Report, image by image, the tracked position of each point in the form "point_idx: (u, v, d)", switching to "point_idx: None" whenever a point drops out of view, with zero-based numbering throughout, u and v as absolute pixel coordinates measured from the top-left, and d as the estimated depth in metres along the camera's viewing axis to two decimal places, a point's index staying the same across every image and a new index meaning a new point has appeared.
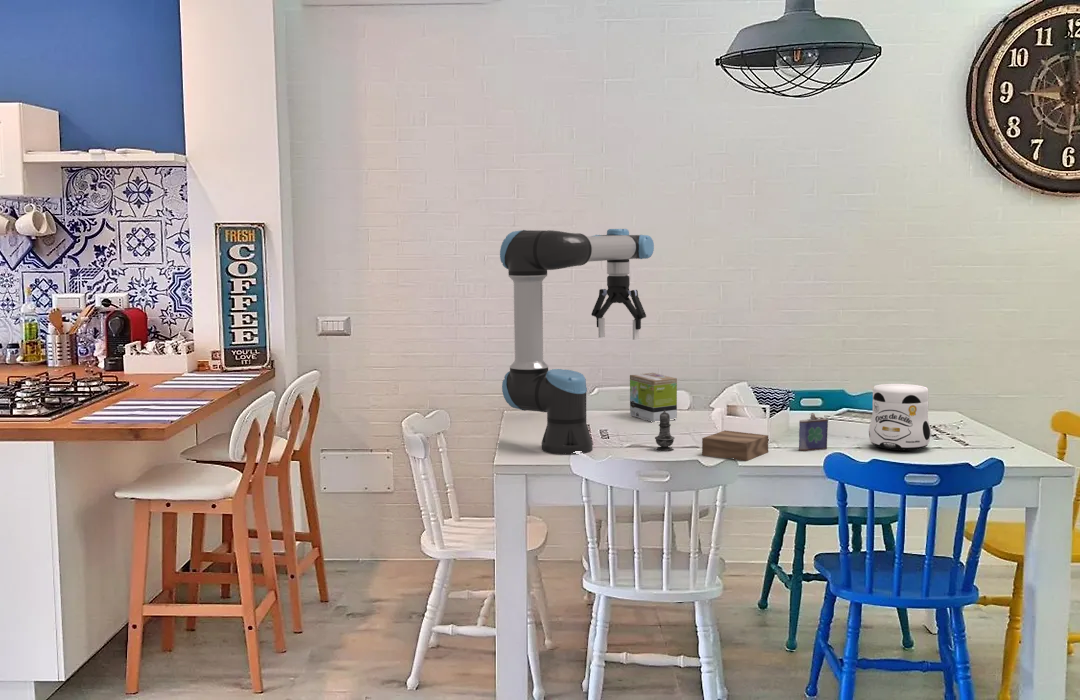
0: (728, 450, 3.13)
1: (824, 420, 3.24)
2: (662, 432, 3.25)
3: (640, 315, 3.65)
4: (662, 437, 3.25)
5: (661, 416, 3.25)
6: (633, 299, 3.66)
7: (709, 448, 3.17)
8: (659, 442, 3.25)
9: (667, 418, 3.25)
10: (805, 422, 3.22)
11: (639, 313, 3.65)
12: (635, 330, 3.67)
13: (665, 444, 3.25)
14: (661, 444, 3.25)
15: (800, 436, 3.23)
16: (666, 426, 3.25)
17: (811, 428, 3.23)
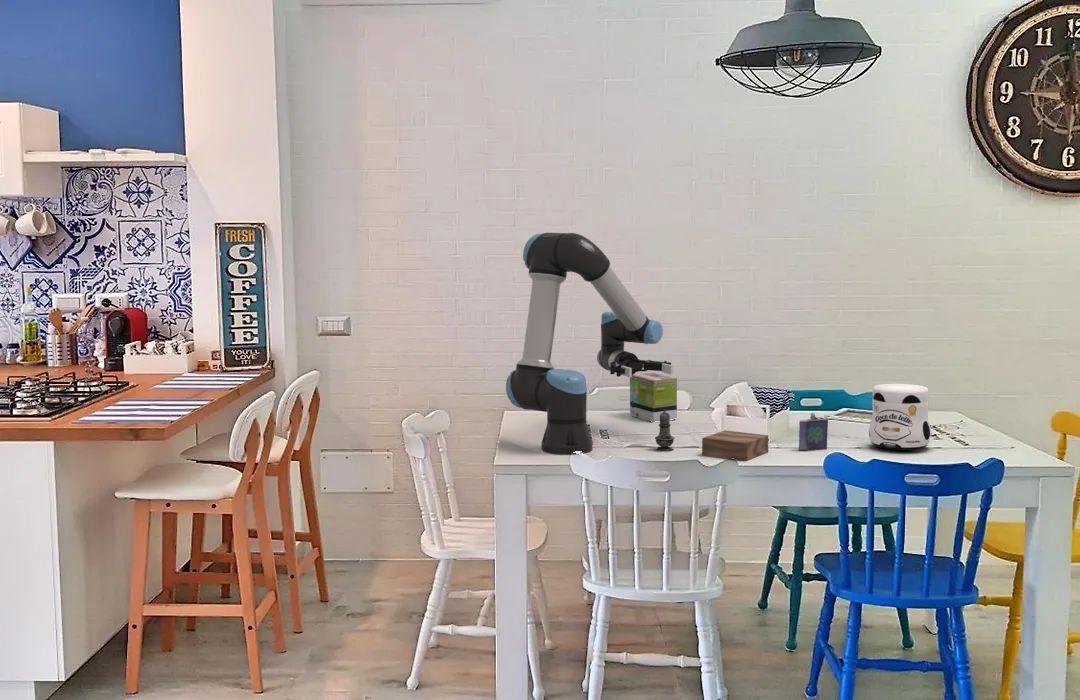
0: (728, 450, 3.13)
1: (824, 420, 3.24)
2: (662, 432, 3.25)
3: (668, 362, 3.44)
4: (662, 437, 3.25)
5: (661, 416, 3.25)
6: (653, 361, 3.48)
7: (709, 448, 3.17)
8: (659, 442, 3.25)
9: (667, 418, 3.25)
10: (805, 422, 3.22)
11: (666, 362, 3.45)
12: None
13: (665, 444, 3.25)
14: (661, 444, 3.25)
15: (800, 436, 3.23)
16: (666, 426, 3.25)
17: (811, 428, 3.23)
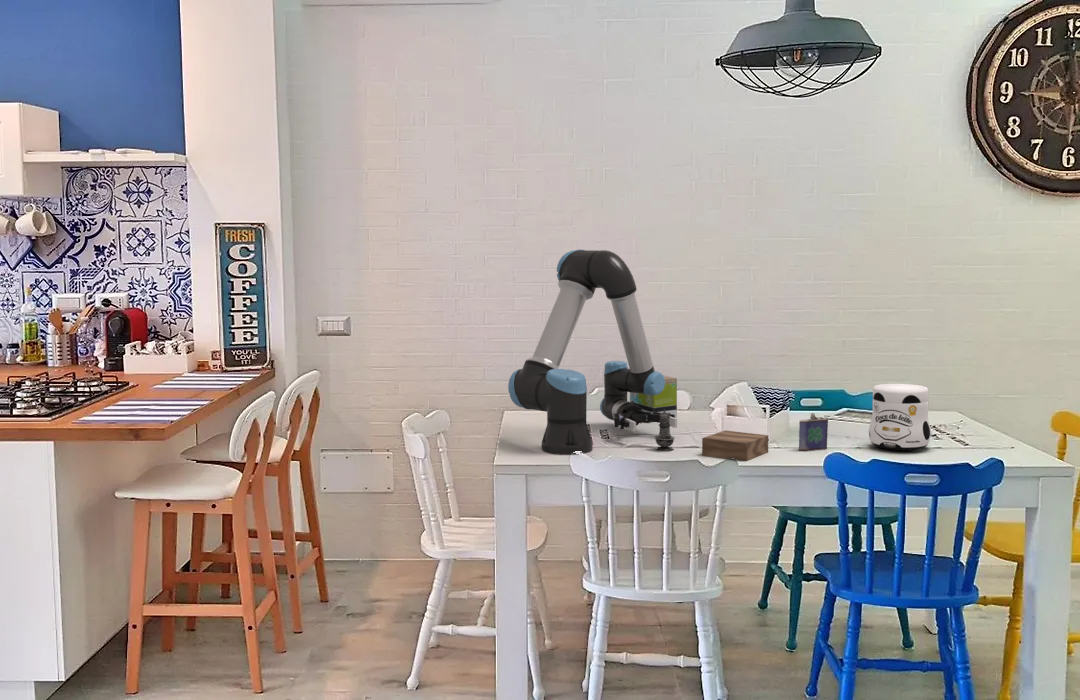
0: (728, 450, 3.13)
1: (824, 420, 3.24)
2: (662, 432, 3.25)
3: (672, 414, 3.45)
4: (662, 437, 3.25)
5: (661, 416, 3.25)
6: (657, 412, 3.49)
7: (709, 448, 3.17)
8: (659, 442, 3.25)
9: (667, 418, 3.25)
10: (805, 422, 3.22)
11: None
12: None
13: (665, 444, 3.25)
14: (661, 444, 3.25)
15: (800, 436, 3.23)
16: (666, 426, 3.25)
17: (811, 428, 3.23)
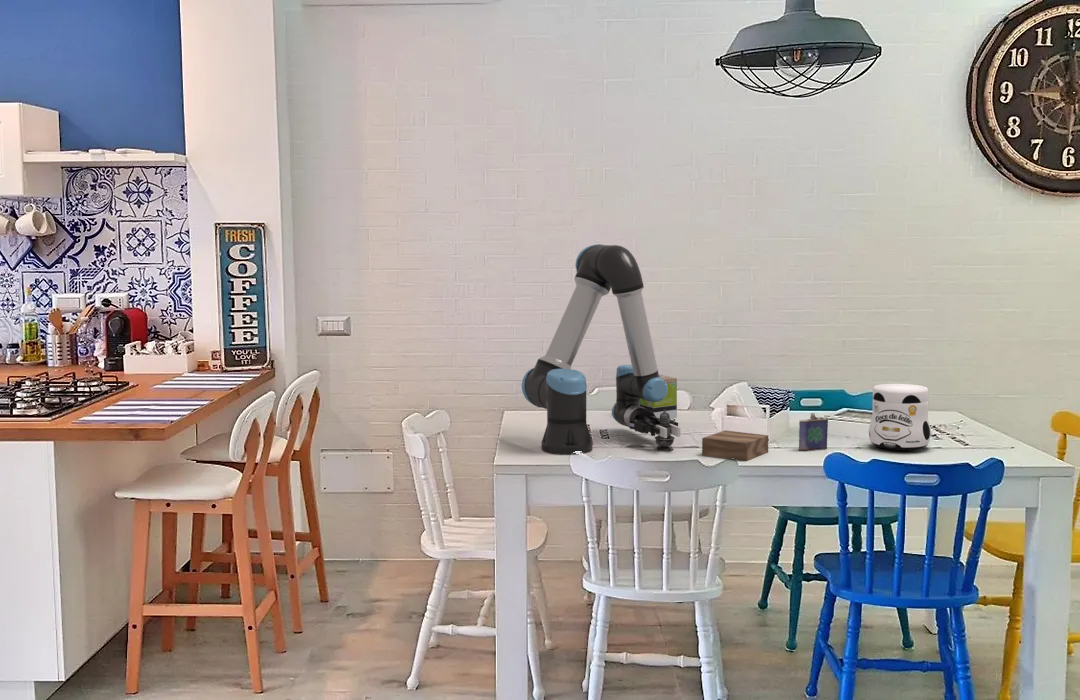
0: (728, 450, 3.13)
1: (824, 420, 3.24)
2: None
3: (675, 422, 3.30)
4: (662, 437, 3.25)
5: (661, 416, 3.25)
6: None
7: (709, 448, 3.17)
8: (659, 442, 3.25)
9: (667, 418, 3.25)
10: (805, 422, 3.22)
11: (674, 422, 3.31)
12: None
13: (665, 444, 3.25)
14: (661, 444, 3.25)
15: (800, 436, 3.23)
16: (666, 426, 3.25)
17: (811, 428, 3.23)
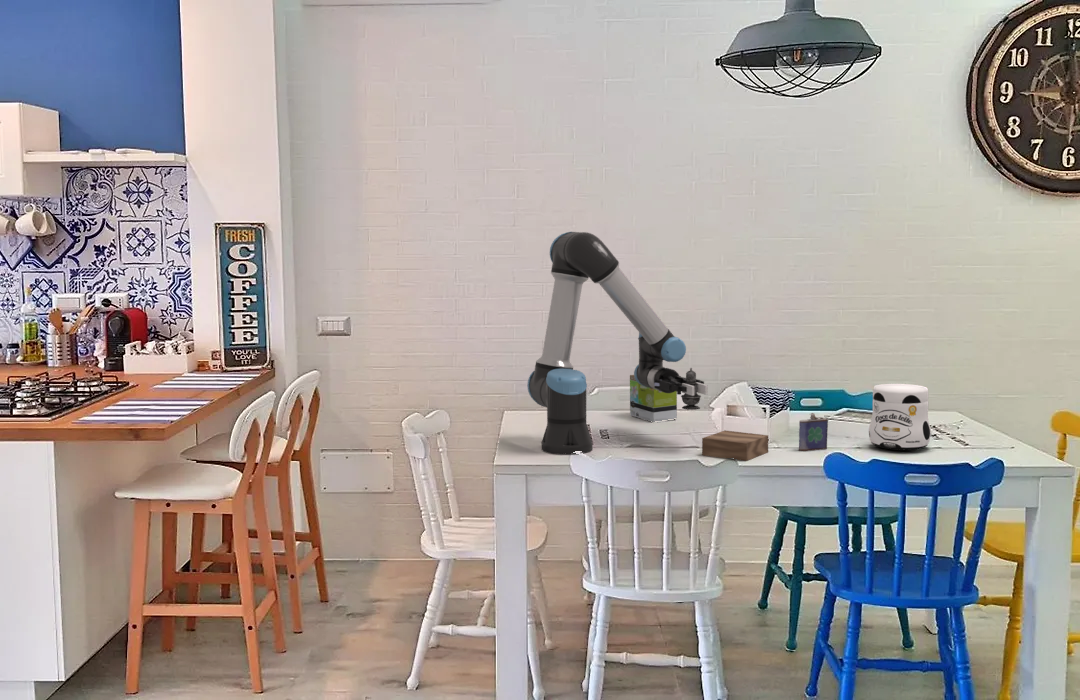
0: (728, 450, 3.13)
1: (824, 420, 3.24)
2: None
3: (701, 381, 3.28)
4: (689, 395, 3.23)
5: (687, 374, 3.23)
6: None
7: (709, 448, 3.17)
8: (686, 400, 3.23)
9: (694, 376, 3.23)
10: (805, 422, 3.22)
11: (700, 381, 3.29)
12: None
13: (692, 402, 3.22)
14: (688, 402, 3.23)
15: (800, 436, 3.23)
16: (692, 384, 3.22)
17: (811, 428, 3.23)
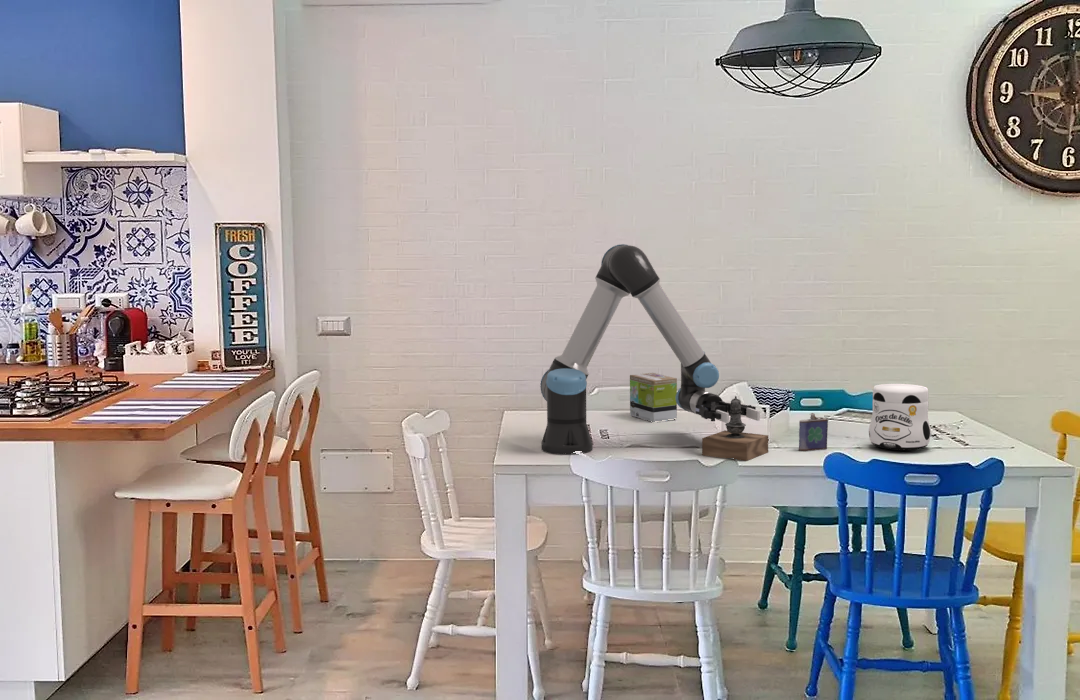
0: (728, 450, 3.13)
1: (824, 420, 3.24)
2: (733, 418, 3.18)
3: (752, 406, 3.24)
4: (733, 424, 3.17)
5: (732, 402, 3.17)
6: None
7: (709, 448, 3.17)
8: (730, 429, 3.17)
9: (738, 404, 3.17)
10: (805, 422, 3.22)
11: (751, 406, 3.25)
12: None
13: (736, 431, 3.17)
14: (732, 431, 3.17)
15: (800, 436, 3.23)
16: (737, 412, 3.17)
17: (811, 428, 3.23)
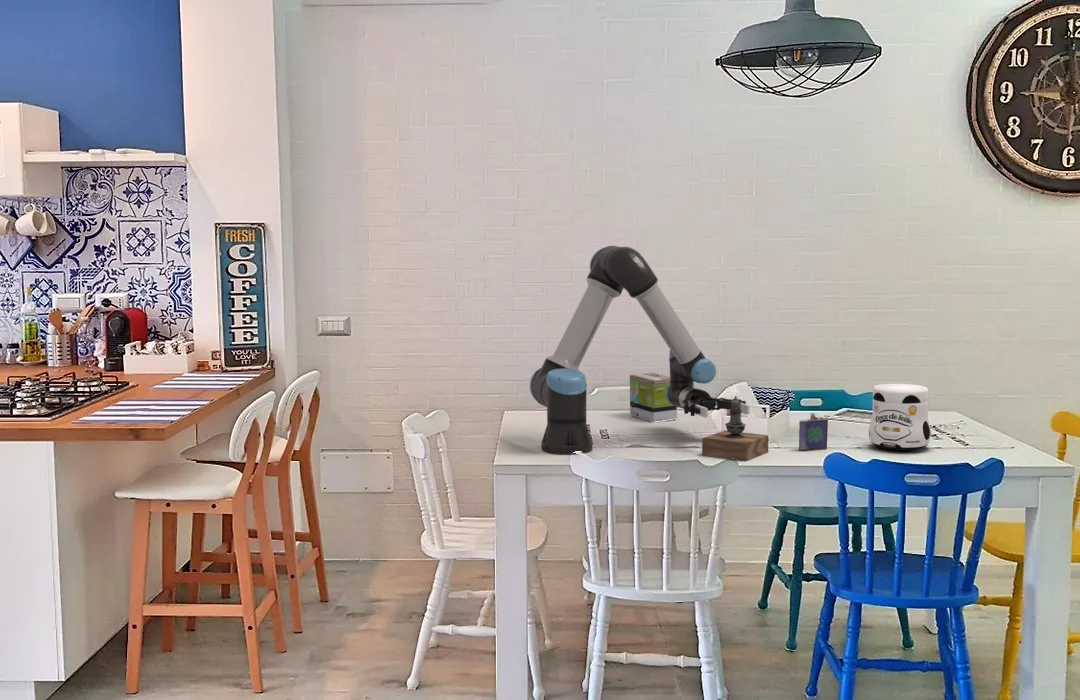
0: (728, 450, 3.13)
1: (824, 420, 3.24)
2: (733, 418, 3.18)
3: (742, 401, 3.34)
4: (733, 424, 3.17)
5: (732, 402, 3.17)
6: (726, 399, 3.38)
7: (709, 448, 3.17)
8: (730, 429, 3.17)
9: (738, 404, 3.17)
10: (805, 422, 3.22)
11: (741, 401, 3.34)
12: None
13: (736, 431, 3.17)
14: (732, 431, 3.17)
15: (800, 436, 3.23)
16: (737, 412, 3.17)
17: (811, 428, 3.23)
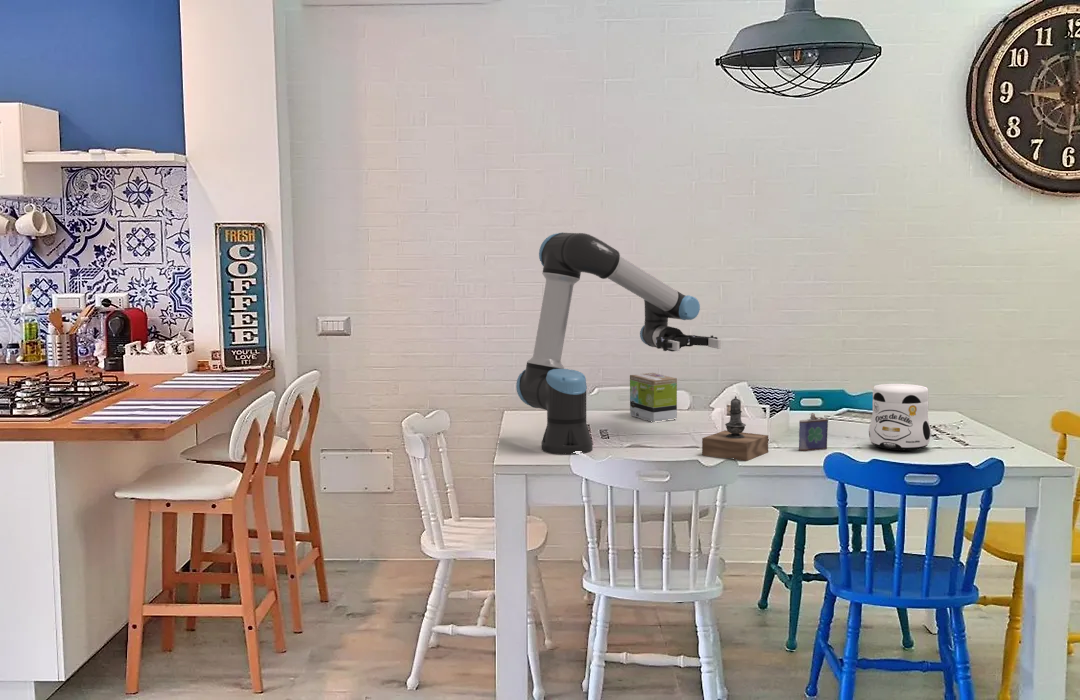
0: (728, 450, 3.13)
1: (824, 420, 3.24)
2: (733, 418, 3.18)
3: (714, 337, 3.41)
4: (733, 424, 3.17)
5: (732, 402, 3.17)
6: (699, 336, 3.45)
7: (709, 448, 3.17)
8: (730, 429, 3.17)
9: (738, 404, 3.17)
10: (805, 422, 3.22)
11: (713, 337, 3.41)
12: None
13: (736, 431, 3.17)
14: (732, 431, 3.17)
15: (800, 436, 3.23)
16: (737, 412, 3.17)
17: (811, 428, 3.23)
